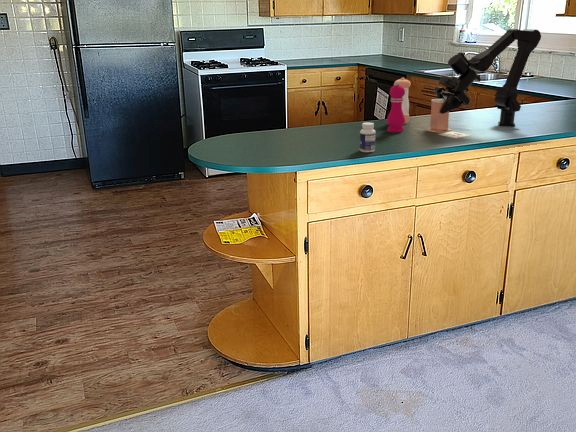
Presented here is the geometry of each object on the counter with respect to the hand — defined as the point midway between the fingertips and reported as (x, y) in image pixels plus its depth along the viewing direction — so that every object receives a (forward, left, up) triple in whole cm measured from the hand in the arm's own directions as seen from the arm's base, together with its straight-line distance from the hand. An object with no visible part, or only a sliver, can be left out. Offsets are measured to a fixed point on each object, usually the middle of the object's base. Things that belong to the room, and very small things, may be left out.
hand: (437, 112), depth 236 cm
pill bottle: (+40, -22, -8) cm, 46 cm away
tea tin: (-1, +1, -7) cm, 7 cm away
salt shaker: (-16, -16, -8) cm, 24 cm away
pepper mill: (+4, -16, -8) cm, 18 cm away
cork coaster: (-1, +1, -8) cm, 8 cm away
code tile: (+7, +7, -8) cm, 13 cm away
